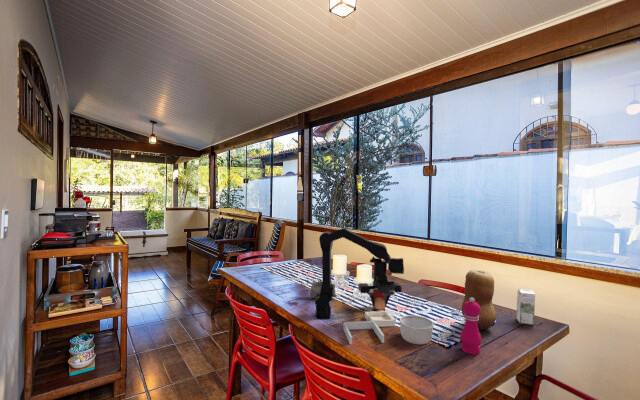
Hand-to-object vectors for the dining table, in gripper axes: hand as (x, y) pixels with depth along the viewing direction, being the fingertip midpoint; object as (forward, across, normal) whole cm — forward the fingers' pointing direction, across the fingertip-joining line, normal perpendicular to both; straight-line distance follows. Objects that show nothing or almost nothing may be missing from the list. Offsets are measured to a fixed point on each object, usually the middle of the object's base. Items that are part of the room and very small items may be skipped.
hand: (379, 306), depth 144 cm
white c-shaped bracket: (+7, -11, -13) cm, 18 cm away
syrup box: (+7, +67, -6) cm, 68 cm away
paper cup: (+7, +5, +16) cm, 18 cm away
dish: (+7, 0, 0) cm, 7 cm away
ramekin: (+7, +10, -17) cm, 21 cm away
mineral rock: (+7, -22, +32) cm, 39 cm away
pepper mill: (+7, +26, -28) cm, 39 cm away
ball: (+1, 0, 0) cm, 1 cm away
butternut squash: (+7, +41, -10) cm, 43 cm away
